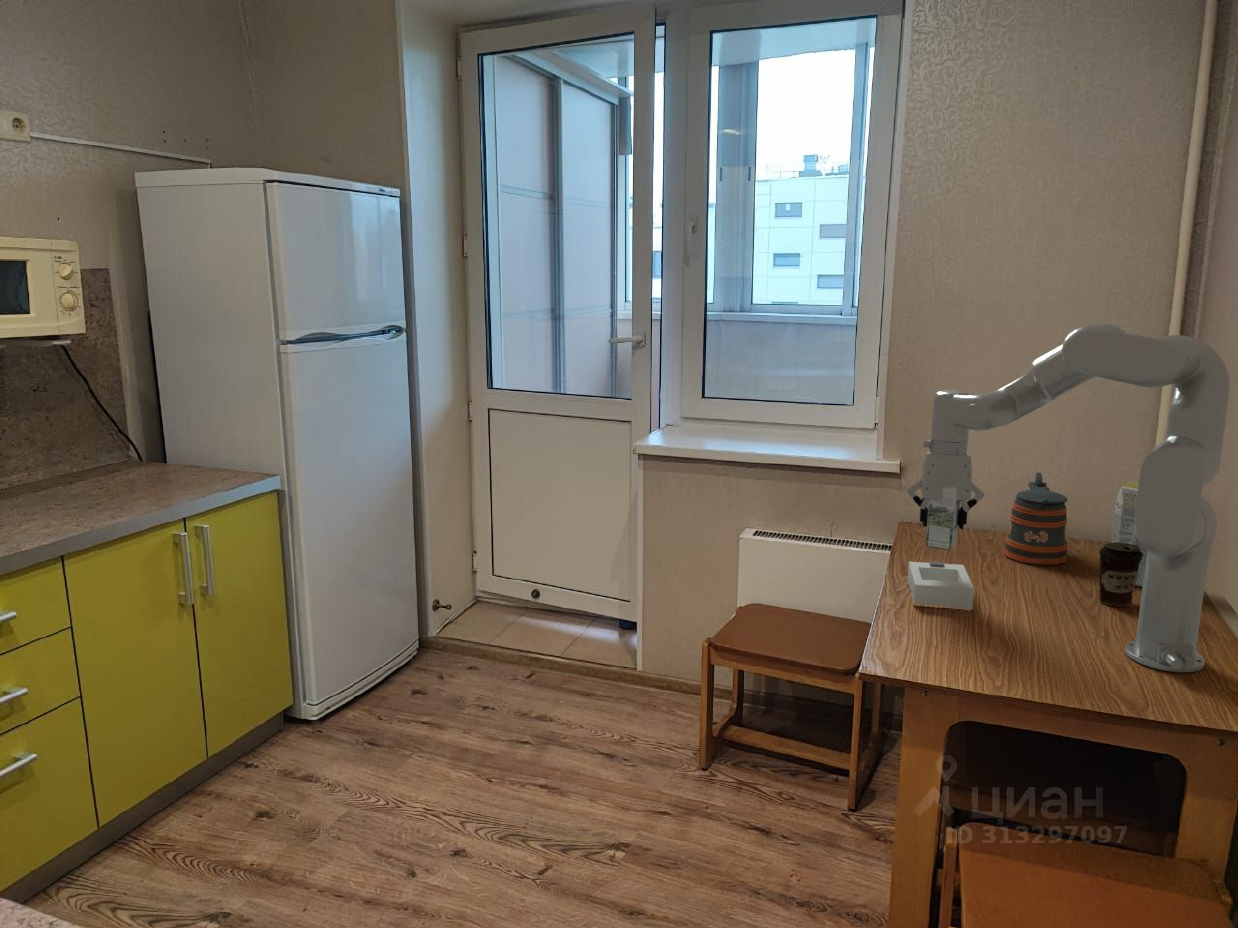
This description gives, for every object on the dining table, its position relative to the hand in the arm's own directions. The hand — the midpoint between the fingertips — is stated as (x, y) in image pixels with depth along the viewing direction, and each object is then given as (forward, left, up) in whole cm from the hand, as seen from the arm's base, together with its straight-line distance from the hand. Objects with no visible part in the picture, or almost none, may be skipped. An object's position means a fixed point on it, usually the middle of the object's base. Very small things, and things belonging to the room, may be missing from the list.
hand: (942, 525), depth 192 cm
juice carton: (+19, -45, -17) cm, 52 cm away
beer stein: (+36, -27, -17) cm, 48 cm away
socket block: (0, 0, -16) cm, 16 cm away
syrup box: (0, 0, -5) cm, 5 cm away
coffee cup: (+3, -37, -17) cm, 41 cm away
